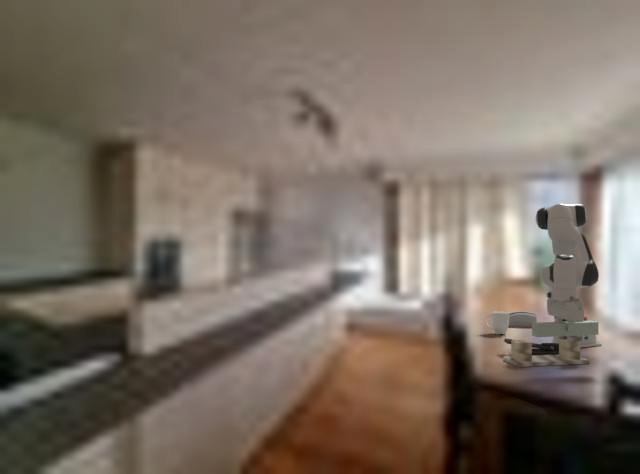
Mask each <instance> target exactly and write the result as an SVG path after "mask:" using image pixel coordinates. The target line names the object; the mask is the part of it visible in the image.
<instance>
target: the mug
mask: <svg viewBox="0 0 640 474" xmlns="http://www.w3.org/2000/svg"><path fill="white" fill-rule="evenodd" d="M509 313H510V312H509V311H502V310H495V311H491V313H490V314H488V315H487V316H486V318H485V319H486V325H487V327H488V328H490V329H491V330H493V331H494V334H495V335H497V334H505V335H507V331H508V329H509V327H510V326H509ZM489 317H491V326H490V325H489V324H488V321H487V320H488V318H489Z"/></svg>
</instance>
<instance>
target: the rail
mask: <svg viewBox="0 0 640 474" xmlns="http://www.w3.org/2000/svg"><path fill="white" fill-rule="evenodd" d="M567 326H568V321H567V322H554V321H547V322H546V321H545V322H544V321H542V322H537V323H532V327H531V335H532V336H533V337H535V338H549V337H550V338H553V337H555V336H579V335H597V336H598V335H599V321H595V320H587V321H583V322H575V323H574V325H573V330H572V331H571V332H569V331H566V327H567Z"/></svg>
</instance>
